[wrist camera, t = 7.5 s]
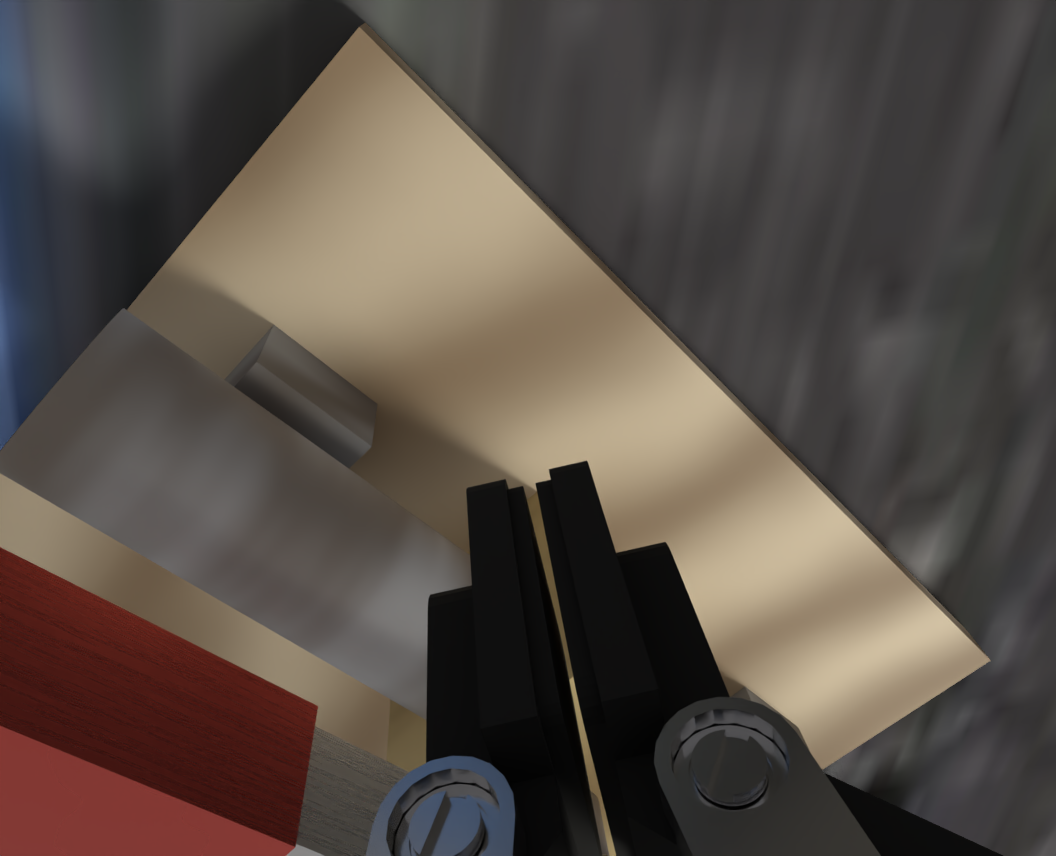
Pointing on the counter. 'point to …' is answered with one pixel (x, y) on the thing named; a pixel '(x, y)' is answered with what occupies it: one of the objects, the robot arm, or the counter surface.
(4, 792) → the valve lever
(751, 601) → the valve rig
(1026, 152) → the counter surface
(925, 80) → the counter surface
